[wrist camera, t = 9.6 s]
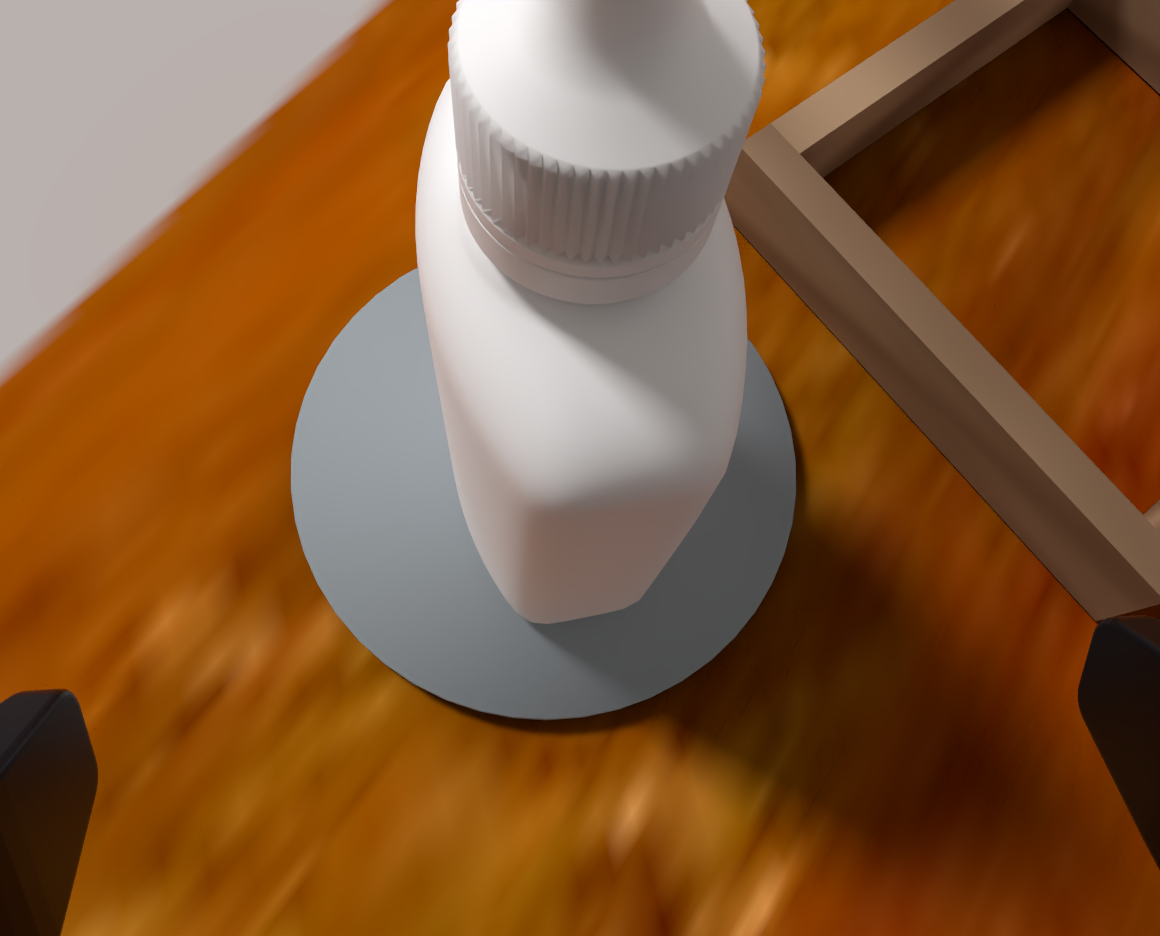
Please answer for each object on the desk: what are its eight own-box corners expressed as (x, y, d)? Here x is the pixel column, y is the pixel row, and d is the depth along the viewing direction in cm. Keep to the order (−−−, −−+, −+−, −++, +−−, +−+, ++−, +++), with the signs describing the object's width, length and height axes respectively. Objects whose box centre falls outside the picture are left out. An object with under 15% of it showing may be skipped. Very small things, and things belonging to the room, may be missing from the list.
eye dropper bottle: (708, 366, 18) (1040, -320, 7) (624, 657, 17) (880, 385, 5) (486, 297, 18) (447, -492, 7) (379, 578, 17) (95, 142, 5)
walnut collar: (1095, 621, 18) (1166, 602, 16) (716, 205, 20) (738, 144, 18) (1433, 307, 20) (1529, 257, 18) (1065, -32, 22) (1117, -108, 20)
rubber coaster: (497, 835, 16) (497, 837, 16) (197, 419, 18) (190, 411, 17) (889, 511, 18) (897, 505, 18) (586, 168, 20) (588, 156, 19)
